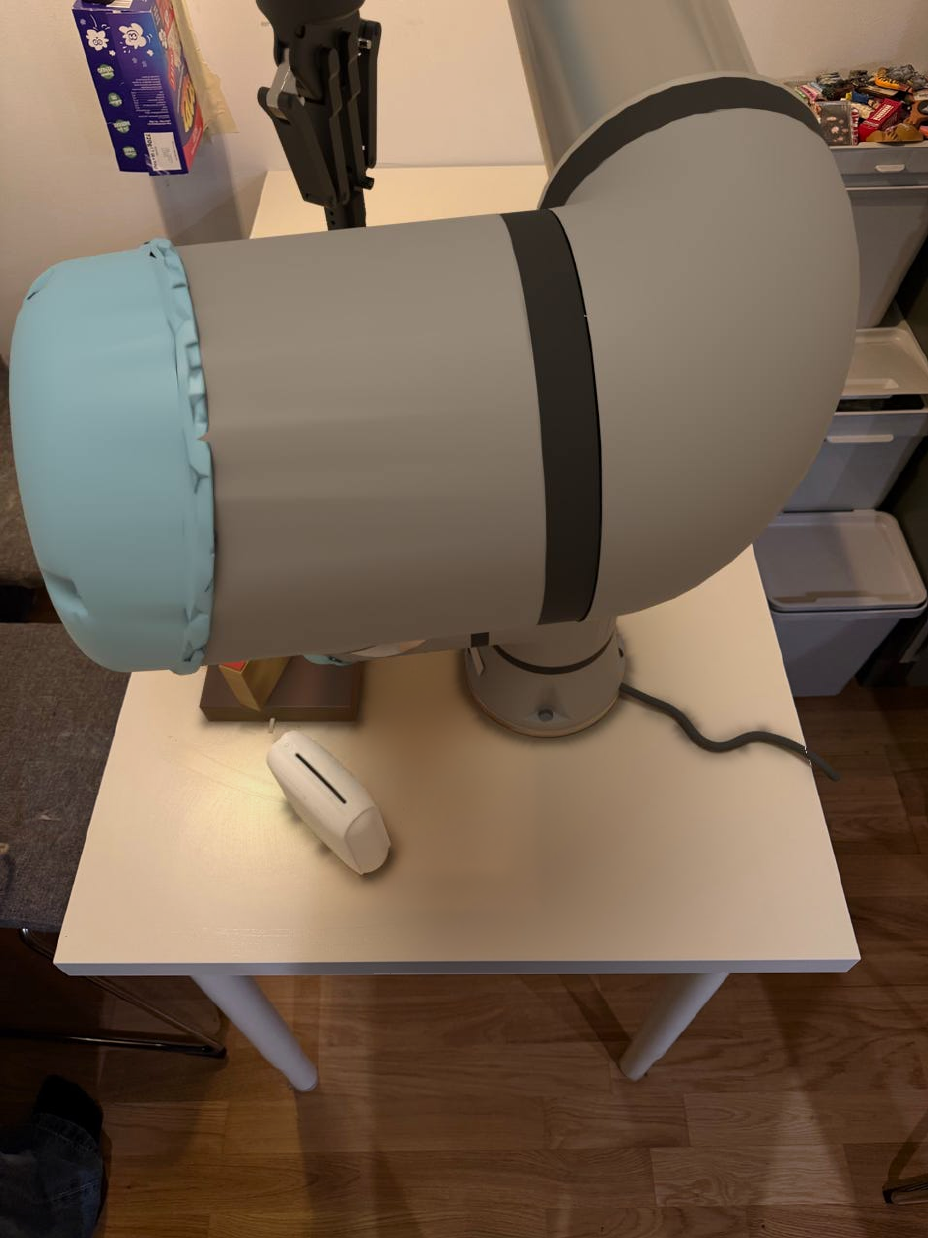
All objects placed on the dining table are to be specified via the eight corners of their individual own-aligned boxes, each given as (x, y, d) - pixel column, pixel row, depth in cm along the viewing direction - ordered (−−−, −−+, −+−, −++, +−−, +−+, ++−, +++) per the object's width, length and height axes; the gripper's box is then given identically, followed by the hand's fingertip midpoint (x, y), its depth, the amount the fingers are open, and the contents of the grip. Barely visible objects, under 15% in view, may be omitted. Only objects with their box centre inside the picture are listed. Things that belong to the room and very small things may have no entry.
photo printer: (284, 804, 74) (250, 747, 64) (321, 771, 76) (293, 710, 66) (362, 885, 70) (339, 839, 60) (399, 848, 72) (383, 797, 62)
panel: (383, 593, 86) (380, 575, 84) (370, 747, 77) (366, 732, 74) (218, 593, 87) (209, 575, 84) (186, 746, 78) (175, 732, 75)
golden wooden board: (304, 593, 83) (289, 548, 77) (324, 599, 82) (310, 555, 76) (239, 704, 77) (217, 664, 70) (260, 711, 76) (240, 672, 70)
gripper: (308, -112, 57) (356, 214, 77) (191, -38, 51) (276, 295, 71) (403, -96, 55) (427, 235, 75) (293, -17, 49) (351, 320, 69)
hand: (354, 264), depth 73 cm, fingers closed
